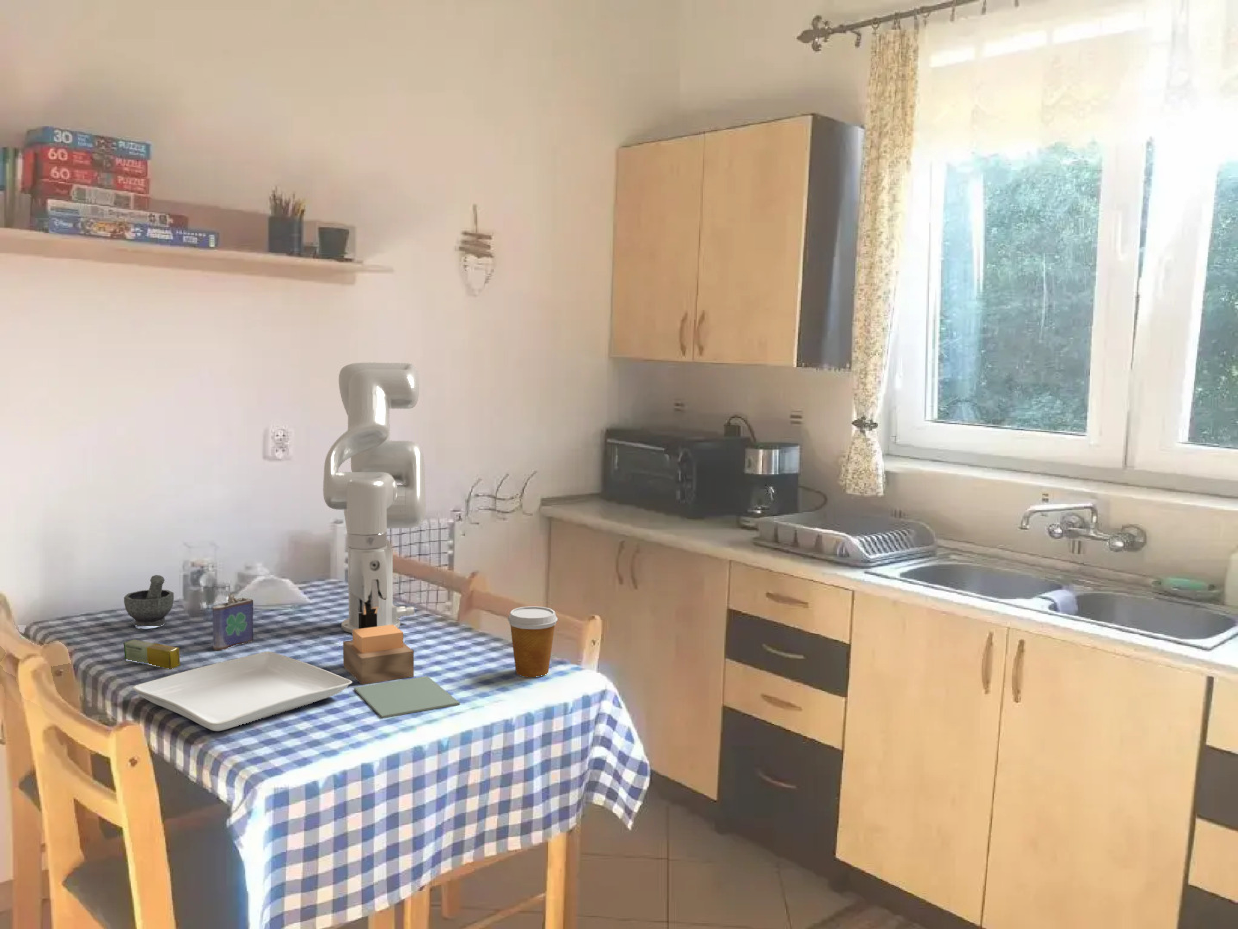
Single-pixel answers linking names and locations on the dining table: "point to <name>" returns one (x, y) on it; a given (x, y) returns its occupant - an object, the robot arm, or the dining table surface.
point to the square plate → (242, 689)
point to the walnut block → (378, 663)
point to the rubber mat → (405, 696)
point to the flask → (232, 622)
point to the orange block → (377, 638)
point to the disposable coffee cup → (532, 639)
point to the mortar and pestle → (150, 604)
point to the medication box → (152, 653)
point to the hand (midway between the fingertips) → (367, 632)
